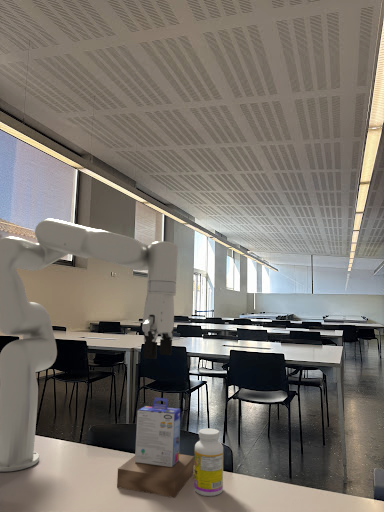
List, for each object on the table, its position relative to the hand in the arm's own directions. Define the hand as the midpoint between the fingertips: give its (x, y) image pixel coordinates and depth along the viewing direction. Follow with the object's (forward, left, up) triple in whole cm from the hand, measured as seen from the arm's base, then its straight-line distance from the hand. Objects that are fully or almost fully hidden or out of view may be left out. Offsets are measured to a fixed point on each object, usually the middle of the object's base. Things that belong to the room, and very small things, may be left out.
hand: (158, 356), depth 98 cm
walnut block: (+1, -1, -29) cm, 29 cm away
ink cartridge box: (+1, -1, -25) cm, 25 cm away
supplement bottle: (+14, -2, -29) cm, 32 cm away
